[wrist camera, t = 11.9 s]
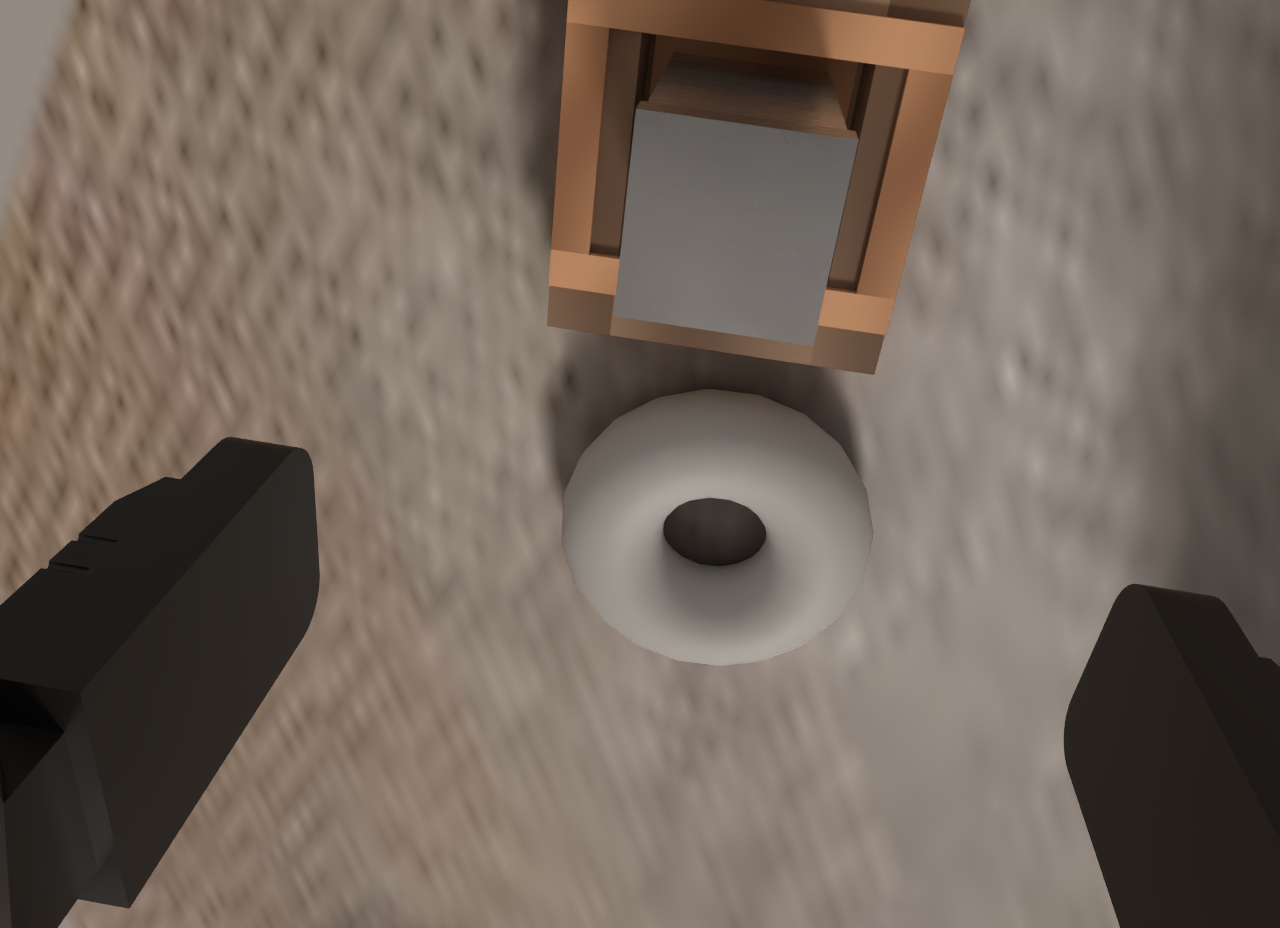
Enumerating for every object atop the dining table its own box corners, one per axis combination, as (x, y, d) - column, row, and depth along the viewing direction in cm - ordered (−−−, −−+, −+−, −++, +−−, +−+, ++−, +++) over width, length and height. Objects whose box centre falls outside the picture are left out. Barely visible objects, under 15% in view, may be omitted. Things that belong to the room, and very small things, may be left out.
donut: (912, 413, 31) (602, 335, 31) (929, 470, 28) (586, 384, 28) (812, 648, 36) (544, 584, 36) (817, 717, 33) (526, 647, 33)
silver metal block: (834, 69, 26) (858, 140, 19) (801, 229, 28) (813, 346, 21) (671, 46, 26) (636, 108, 19) (651, 207, 28) (613, 316, 21)
